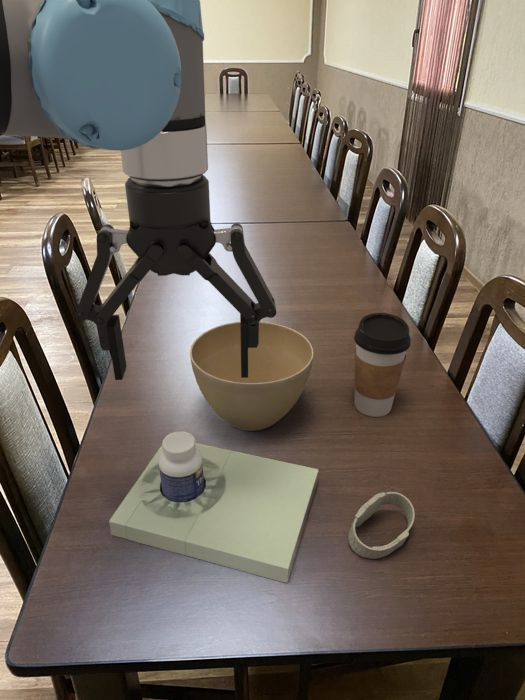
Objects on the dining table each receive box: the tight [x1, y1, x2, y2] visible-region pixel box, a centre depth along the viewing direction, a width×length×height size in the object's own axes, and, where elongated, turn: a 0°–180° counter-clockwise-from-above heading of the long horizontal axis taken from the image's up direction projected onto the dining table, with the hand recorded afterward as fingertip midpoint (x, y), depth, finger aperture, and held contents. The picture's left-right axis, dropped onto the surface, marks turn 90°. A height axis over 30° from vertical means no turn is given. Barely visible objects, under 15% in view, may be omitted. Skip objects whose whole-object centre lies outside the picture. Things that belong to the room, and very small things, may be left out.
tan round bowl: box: [189, 320, 314, 432], centre depth 82 cm, size 18×18×12 cm
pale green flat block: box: [108, 442, 319, 584], centre depth 68 cm, size 22×16×2 cm
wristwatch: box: [347, 491, 416, 560], centre depth 64 cm, size 9×6×5 cm
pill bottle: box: [159, 430, 204, 503], centre depth 67 cm, size 5×5×10 cm
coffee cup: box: [353, 312, 412, 418], centre depth 83 cm, size 8×8×15 cm
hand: (183, 372), depth 59 cm, fingers open, 13 cm apart
